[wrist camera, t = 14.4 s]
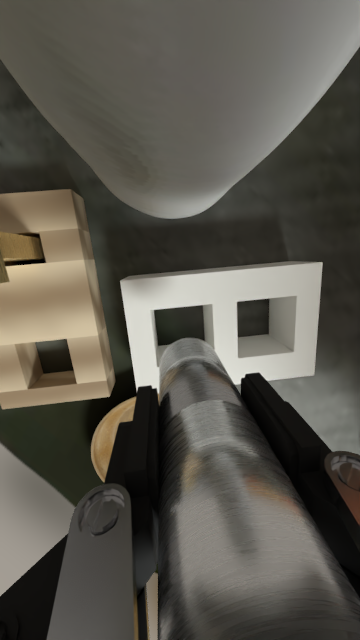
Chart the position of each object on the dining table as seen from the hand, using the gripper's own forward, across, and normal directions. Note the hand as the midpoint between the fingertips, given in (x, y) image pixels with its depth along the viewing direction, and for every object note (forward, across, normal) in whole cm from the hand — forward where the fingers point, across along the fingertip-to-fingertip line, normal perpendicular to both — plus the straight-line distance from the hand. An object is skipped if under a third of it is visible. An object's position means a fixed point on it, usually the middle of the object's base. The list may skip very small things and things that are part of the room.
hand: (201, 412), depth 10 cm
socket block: (+15, +12, -3) cm, 19 cm away
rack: (+15, -4, 0) cm, 15 cm away
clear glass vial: (+4, 0, 0) cm, 4 cm away
